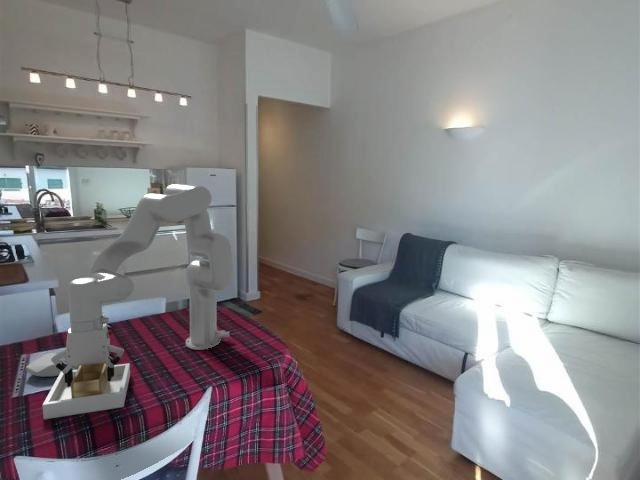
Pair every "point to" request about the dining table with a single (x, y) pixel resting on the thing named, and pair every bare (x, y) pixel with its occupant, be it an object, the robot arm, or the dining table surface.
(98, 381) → the pine crate
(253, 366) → the dining table surface
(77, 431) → the dining table surface
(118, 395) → the white tray
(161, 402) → the dining table surface
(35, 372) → the turret
